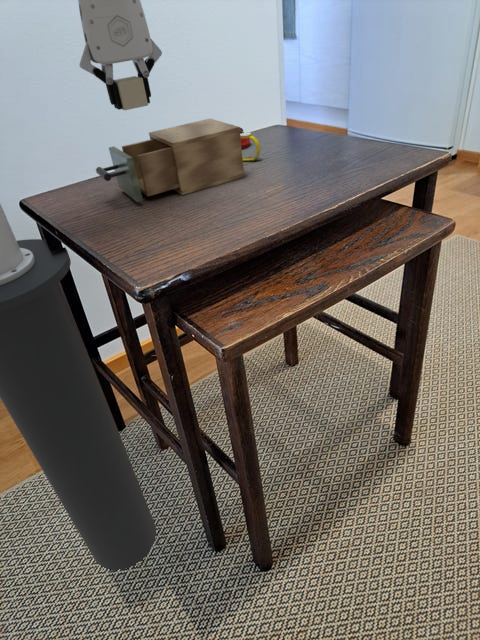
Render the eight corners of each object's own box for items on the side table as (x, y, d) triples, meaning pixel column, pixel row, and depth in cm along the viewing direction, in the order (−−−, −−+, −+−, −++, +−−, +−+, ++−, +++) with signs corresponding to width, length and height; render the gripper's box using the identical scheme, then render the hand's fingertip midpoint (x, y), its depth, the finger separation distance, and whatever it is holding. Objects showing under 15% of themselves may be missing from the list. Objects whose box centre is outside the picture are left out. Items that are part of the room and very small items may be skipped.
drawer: (116, 208, 85) (103, 164, 81) (99, 192, 94) (87, 152, 89) (199, 184, 92) (192, 142, 87) (176, 171, 100) (169, 133, 96)
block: (124, 110, 78) (117, 82, 75) (117, 107, 81) (110, 80, 79) (148, 105, 79) (142, 77, 77) (140, 102, 83) (134, 76, 80)
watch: (262, 159, 105) (260, 132, 101) (257, 162, 103) (255, 135, 99) (239, 158, 107) (237, 132, 104) (234, 161, 105) (231, 135, 102)
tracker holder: (256, 142, 113) (217, 139, 110) (252, 159, 116) (215, 156, 113) (244, 121, 121) (208, 118, 118) (241, 137, 124) (206, 134, 121)
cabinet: (182, 195, 90) (172, 143, 84) (158, 180, 100) (148, 132, 94) (244, 177, 95) (239, 126, 90) (216, 164, 105) (210, 118, 99)
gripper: (52, -19, 64) (91, 118, 75) (162, -30, 70) (183, 98, 80) (44, -14, 70) (81, 112, 80) (146, -25, 75) (168, 94, 86)
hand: (132, 104), depth 80 cm, fingers closed on block, 4 cm apart
